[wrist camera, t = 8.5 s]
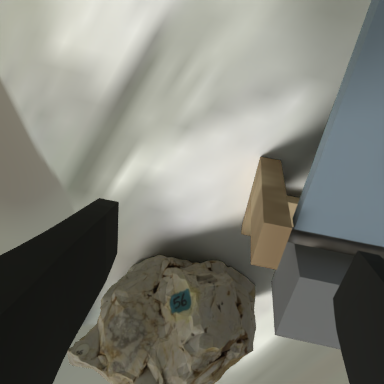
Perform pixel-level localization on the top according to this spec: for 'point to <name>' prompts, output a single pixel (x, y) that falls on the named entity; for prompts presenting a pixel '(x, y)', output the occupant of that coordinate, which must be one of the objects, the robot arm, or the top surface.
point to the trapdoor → (338, 195)
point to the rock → (170, 324)
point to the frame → (282, 221)
